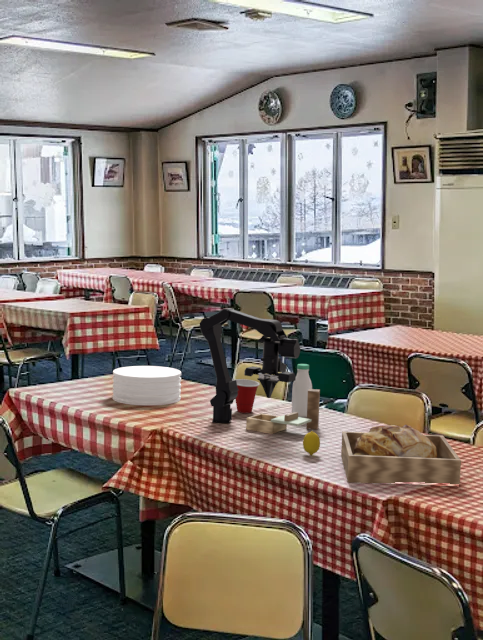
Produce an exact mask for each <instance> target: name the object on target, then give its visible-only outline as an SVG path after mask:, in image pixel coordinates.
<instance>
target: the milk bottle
mask: <svg viewBox="0 0 483 640" xmlns="http://www.w3.org/2000/svg"><path fill="white" fill-rule="evenodd" d="M296 369H297V373H296V381H292V382H293V383H292V395H291V413H292V412H298V417H301V418H307V400H308V390H309V389H313V383H312V380H311V378H310V375H309V374H310V373H309V371H310V364H307V363H298V364H297V366H296Z"/></svg>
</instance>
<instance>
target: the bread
mask: <svg viewBox="0 0 483 640" xmlns="http://www.w3.org/2000/svg"><path fill="white" fill-rule="evenodd" d="M425 435H426V434H423V433H421V431H420V430H418V429H415V428H414V427H412V426H411V425H408V424H404V425H403V426H398V425H397V424H396V425H395V424H388V425H376V426H372V427H370V429H369V431H368V432H367V433H364V434H362V435H361V436H360V437H359V438H357V439H356V443H355V448H354V455H369V456H393V457H417V458H437V451H436V446H435V445H434V444H433V443H432V441H431V440H429V439H428V438H427V437H426V436H425Z"/></svg>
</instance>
